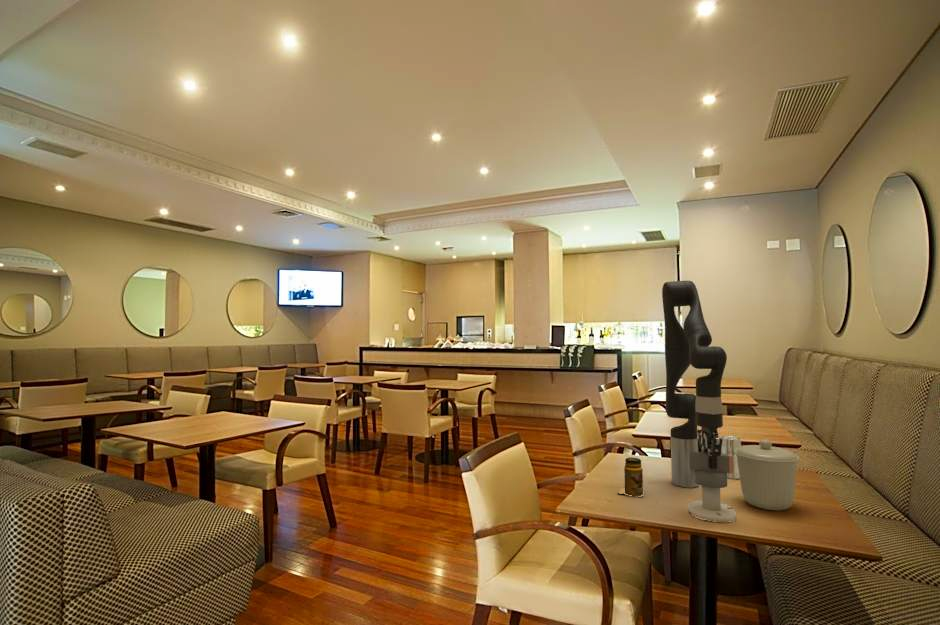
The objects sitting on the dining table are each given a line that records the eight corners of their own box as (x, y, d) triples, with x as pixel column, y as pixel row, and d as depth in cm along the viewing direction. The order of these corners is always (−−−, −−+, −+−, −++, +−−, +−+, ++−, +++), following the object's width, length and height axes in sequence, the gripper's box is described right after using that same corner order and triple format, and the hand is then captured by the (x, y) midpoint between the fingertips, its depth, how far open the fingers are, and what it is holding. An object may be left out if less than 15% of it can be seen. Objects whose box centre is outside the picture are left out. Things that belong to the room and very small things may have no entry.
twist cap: (690, 485, 145) (690, 455, 146) (688, 477, 154) (687, 448, 154) (736, 489, 141) (735, 458, 142) (731, 481, 150) (730, 451, 150)
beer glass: (717, 475, 187) (716, 436, 188) (729, 473, 190) (728, 435, 191) (734, 480, 181) (732, 440, 181) (746, 477, 184) (745, 438, 184)
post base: (682, 506, 154) (681, 477, 155) (724, 507, 153) (724, 479, 153) (697, 522, 141) (696, 491, 142) (743, 523, 140) (742, 492, 140)
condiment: (642, 498, 162) (641, 462, 162) (616, 494, 166) (616, 459, 166) (645, 492, 168) (645, 457, 169) (621, 488, 172) (620, 454, 173)
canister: (765, 518, 144) (763, 447, 145) (722, 497, 162) (721, 435, 163) (816, 513, 148) (813, 444, 149) (768, 494, 165) (766, 432, 166)
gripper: (688, 407, 156) (689, 460, 155) (704, 414, 142) (706, 473, 141) (712, 407, 155) (713, 461, 154) (731, 414, 141) (733, 473, 140)
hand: (710, 466), depth 148 cm, fingers closed on twist cap, 4 cm apart
